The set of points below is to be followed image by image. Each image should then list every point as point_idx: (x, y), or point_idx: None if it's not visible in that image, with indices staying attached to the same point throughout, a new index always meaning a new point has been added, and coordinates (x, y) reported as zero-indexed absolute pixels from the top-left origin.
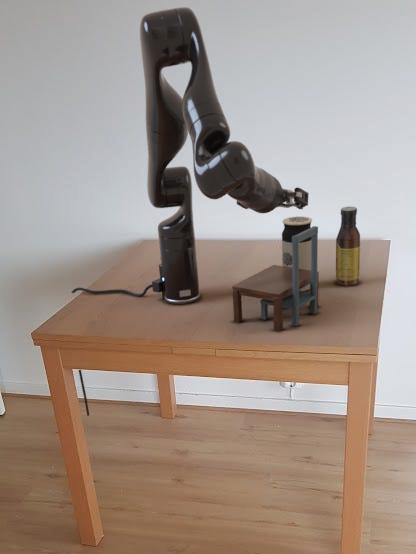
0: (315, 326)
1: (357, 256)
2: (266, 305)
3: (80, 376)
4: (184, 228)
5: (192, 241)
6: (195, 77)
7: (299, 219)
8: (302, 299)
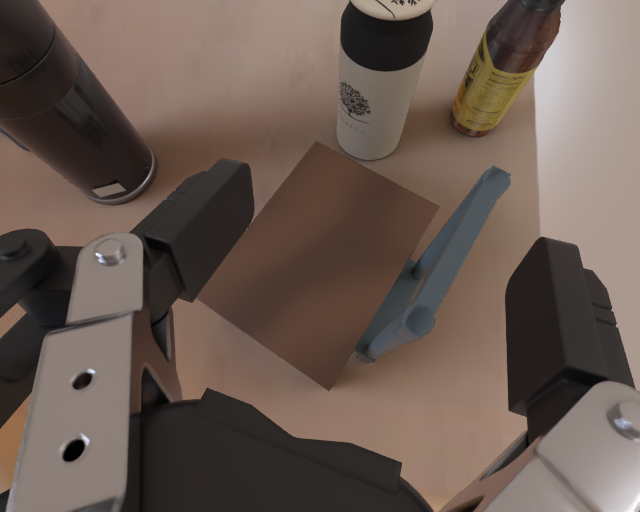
0: (412, 363)
1: (524, 84)
2: None
3: None
4: None
5: (56, 79)
6: None
7: None
8: (389, 306)
